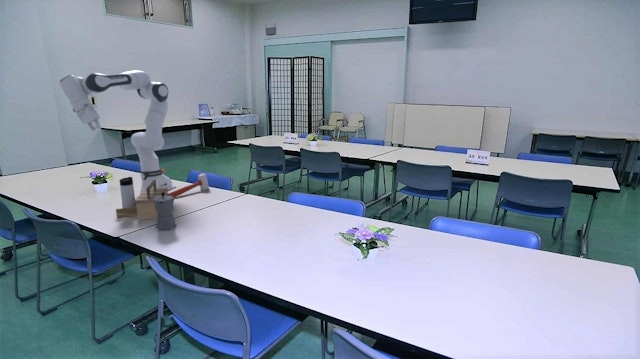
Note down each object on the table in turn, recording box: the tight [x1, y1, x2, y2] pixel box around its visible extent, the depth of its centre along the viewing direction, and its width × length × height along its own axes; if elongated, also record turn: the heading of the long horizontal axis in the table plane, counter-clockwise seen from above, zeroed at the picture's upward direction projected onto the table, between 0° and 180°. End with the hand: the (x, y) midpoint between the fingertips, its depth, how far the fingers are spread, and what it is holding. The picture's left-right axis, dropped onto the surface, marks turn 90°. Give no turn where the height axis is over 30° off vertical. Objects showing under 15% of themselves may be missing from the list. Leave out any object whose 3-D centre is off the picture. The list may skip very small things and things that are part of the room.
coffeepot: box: [153, 192, 177, 232], centre depth 175 cm, size 15×9×18 cm, turn 13°
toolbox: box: [115, 180, 169, 221], centre depth 195 cm, size 23×23×16 cm
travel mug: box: [119, 176, 136, 208], centre depth 192 cm, size 6×7×20 cm
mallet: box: [168, 173, 210, 198], centre depth 234 cm, size 11×4×30 cm
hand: (96, 129), depth 198 cm, fingers open, 8 cm apart
